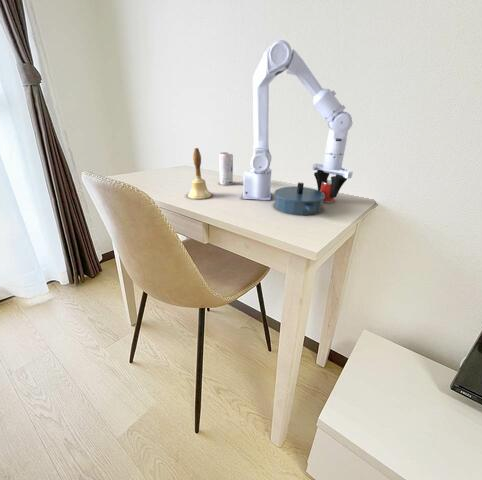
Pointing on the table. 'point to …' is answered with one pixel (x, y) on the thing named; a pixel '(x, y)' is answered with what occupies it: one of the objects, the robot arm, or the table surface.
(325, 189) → the tin can
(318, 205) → the pot
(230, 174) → the energy drink
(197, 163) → the hand bell
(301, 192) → the lid
